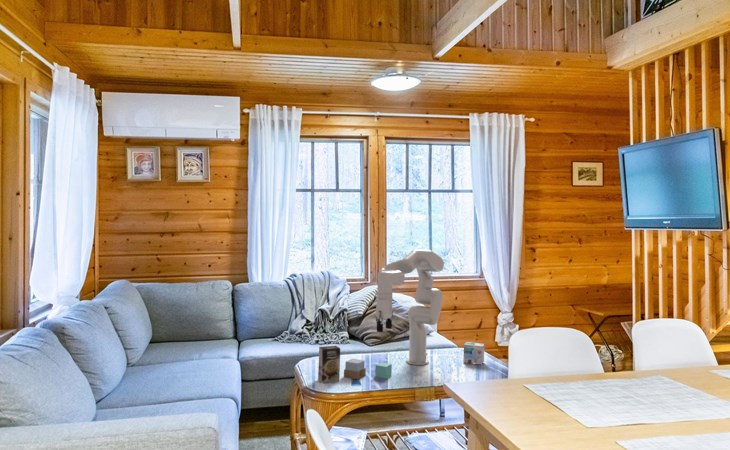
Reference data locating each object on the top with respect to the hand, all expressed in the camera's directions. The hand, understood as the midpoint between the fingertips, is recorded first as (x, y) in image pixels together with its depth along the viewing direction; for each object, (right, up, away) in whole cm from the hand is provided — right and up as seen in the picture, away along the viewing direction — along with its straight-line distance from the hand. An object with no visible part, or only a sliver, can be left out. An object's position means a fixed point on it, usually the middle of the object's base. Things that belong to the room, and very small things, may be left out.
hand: (384, 330), depth 245 cm
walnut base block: (-15, -23, -1) cm, 28 cm away
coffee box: (-27, -23, -9) cm, 37 cm away
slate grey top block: (-15, -19, -1) cm, 24 cm away
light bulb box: (+52, -25, +30) cm, 65 cm away
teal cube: (0, -23, 0) cm, 23 cm away
